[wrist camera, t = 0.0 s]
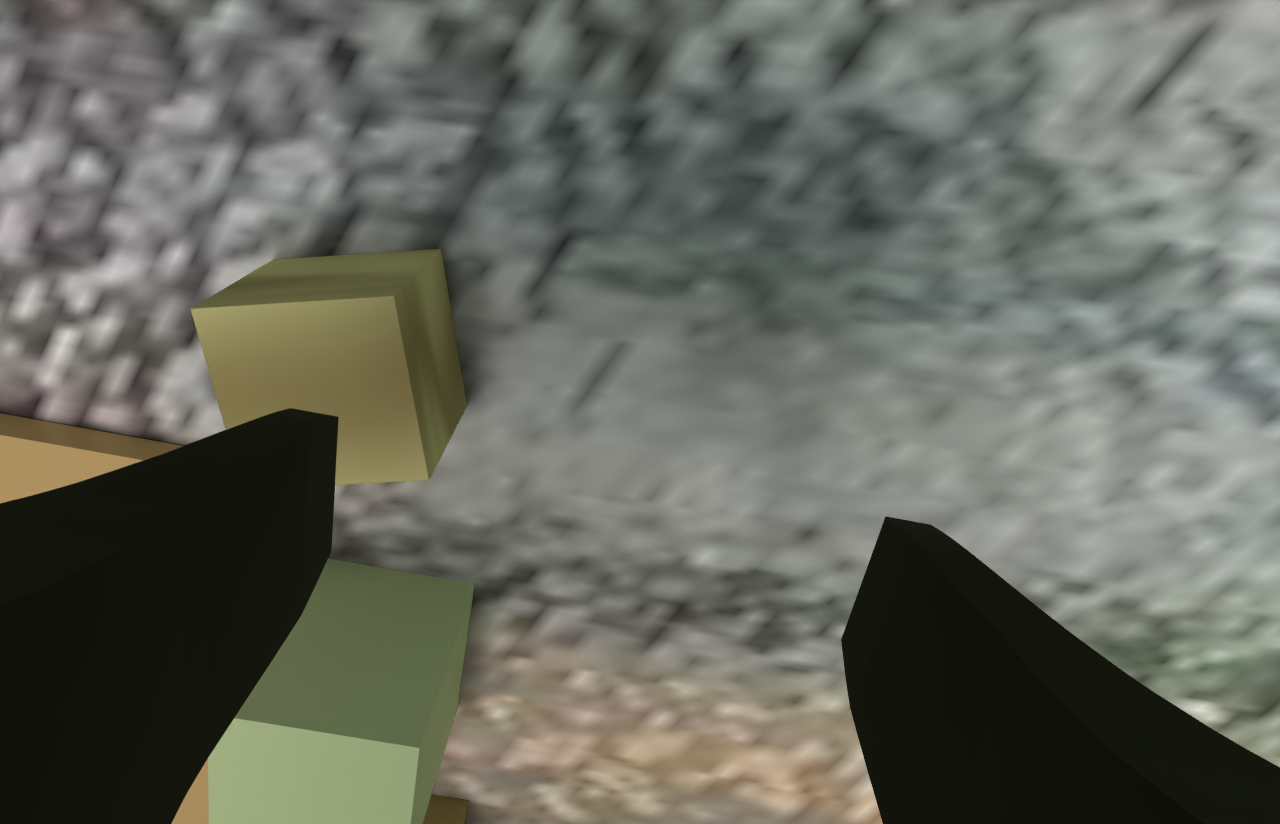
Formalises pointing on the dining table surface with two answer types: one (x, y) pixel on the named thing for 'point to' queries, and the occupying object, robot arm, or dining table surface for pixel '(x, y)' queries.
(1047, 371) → the dining table surface
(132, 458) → the tan flat square slab
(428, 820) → the walnut block
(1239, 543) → the dining table surface
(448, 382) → the pale oak block
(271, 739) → the sage block
